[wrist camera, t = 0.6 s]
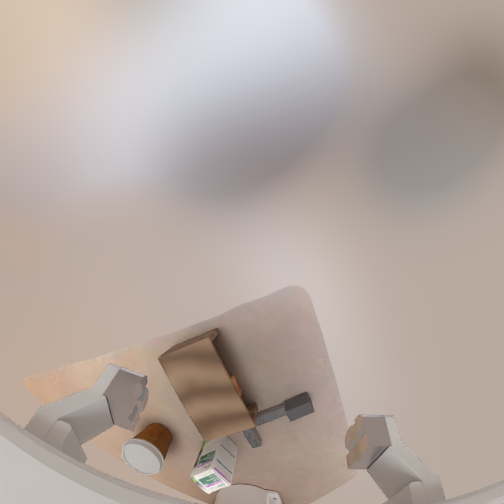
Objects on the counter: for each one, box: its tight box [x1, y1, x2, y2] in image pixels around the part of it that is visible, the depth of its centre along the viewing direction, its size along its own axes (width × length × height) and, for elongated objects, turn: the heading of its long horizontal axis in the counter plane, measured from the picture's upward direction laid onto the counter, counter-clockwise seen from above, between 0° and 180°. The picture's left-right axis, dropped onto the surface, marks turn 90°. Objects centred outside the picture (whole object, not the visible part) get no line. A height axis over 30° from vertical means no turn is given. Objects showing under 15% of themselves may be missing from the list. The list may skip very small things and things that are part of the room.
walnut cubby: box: [158, 328, 258, 442], centre depth 53 cm, size 19×10×9 cm, turn 25°
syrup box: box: [190, 436, 238, 494], centre depth 49 cm, size 6×6×14 cm
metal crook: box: [242, 392, 314, 448], centre depth 53 cm, size 7×16×5 cm, turn 115°
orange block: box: [230, 376, 242, 397], centre depth 55 cm, size 4×4×4 cm
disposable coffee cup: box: [122, 423, 172, 475], centre depth 51 cm, size 10×10×12 cm
